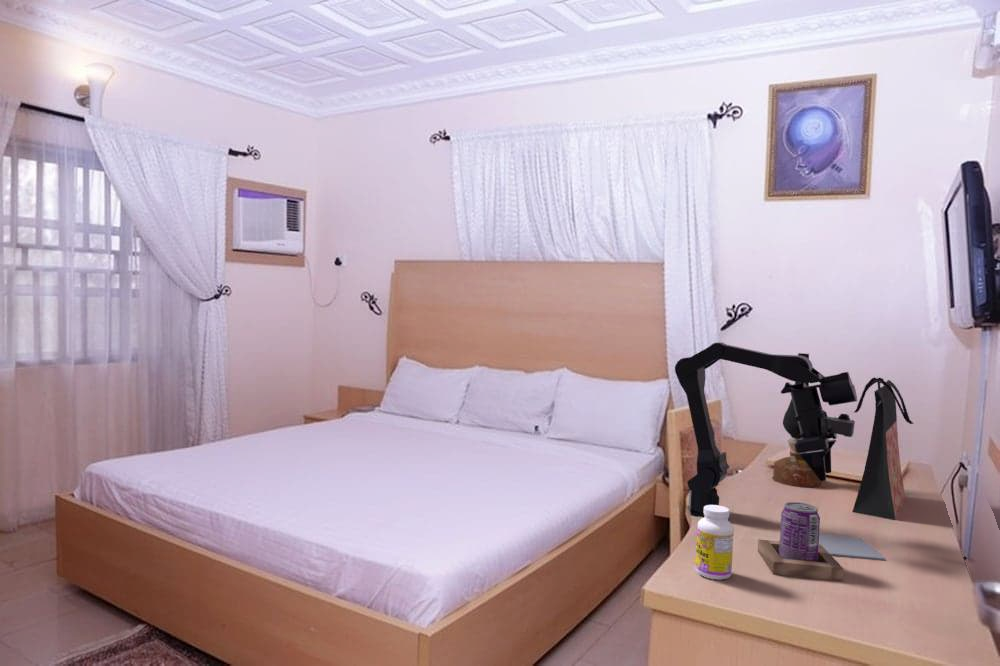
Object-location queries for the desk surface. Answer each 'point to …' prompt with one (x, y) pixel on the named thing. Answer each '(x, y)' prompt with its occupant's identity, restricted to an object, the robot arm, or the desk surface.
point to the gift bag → (882, 457)
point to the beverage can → (799, 532)
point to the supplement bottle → (714, 543)
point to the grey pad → (848, 547)
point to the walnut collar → (800, 563)
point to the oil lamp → (794, 454)
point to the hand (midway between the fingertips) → (826, 476)
